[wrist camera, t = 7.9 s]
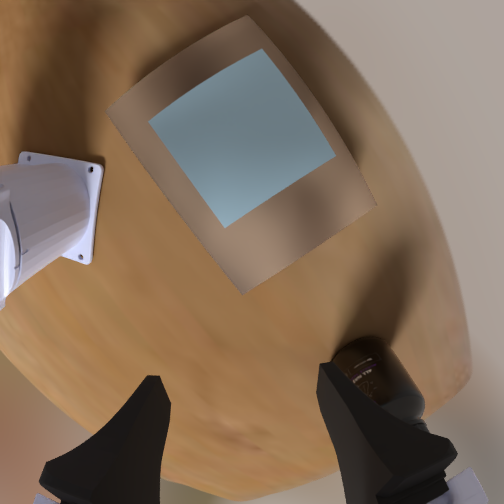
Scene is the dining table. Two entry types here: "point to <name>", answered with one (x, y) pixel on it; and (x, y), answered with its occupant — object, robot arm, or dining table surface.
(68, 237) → the robot arm
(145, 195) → the dining table surface
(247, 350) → the dining table surface
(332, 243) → the dining table surface
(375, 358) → the supplement bottle
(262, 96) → the blue cube
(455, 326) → the dining table surface
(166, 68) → the walnut block
